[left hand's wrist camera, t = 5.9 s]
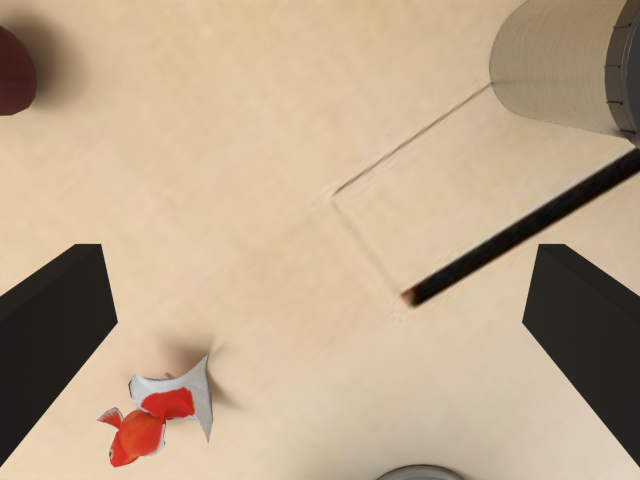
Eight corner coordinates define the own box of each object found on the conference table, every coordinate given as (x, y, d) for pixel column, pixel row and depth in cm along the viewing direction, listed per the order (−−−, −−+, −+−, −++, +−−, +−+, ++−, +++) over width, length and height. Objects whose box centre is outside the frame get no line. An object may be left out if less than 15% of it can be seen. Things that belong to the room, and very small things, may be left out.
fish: (54, 403, 44) (58, 481, 37) (176, 308, 48) (203, 362, 40) (122, 441, 51) (137, 514, 43) (225, 356, 54) (256, 410, 47)
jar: (632, 43, 35) (909, 16, 19) (544, 140, 39) (715, 191, 22) (551, -38, 33) (783, -149, 17) (465, 72, 36) (587, 72, 20)
